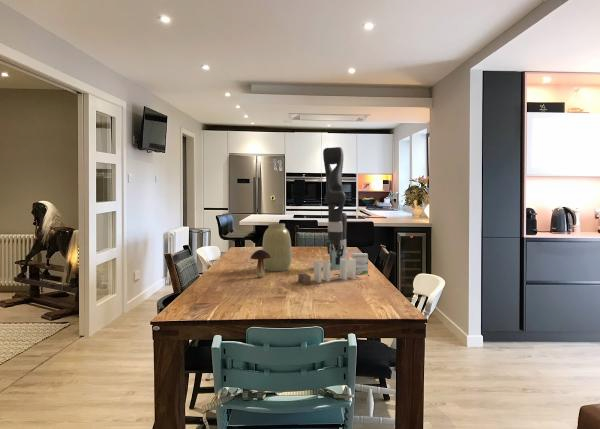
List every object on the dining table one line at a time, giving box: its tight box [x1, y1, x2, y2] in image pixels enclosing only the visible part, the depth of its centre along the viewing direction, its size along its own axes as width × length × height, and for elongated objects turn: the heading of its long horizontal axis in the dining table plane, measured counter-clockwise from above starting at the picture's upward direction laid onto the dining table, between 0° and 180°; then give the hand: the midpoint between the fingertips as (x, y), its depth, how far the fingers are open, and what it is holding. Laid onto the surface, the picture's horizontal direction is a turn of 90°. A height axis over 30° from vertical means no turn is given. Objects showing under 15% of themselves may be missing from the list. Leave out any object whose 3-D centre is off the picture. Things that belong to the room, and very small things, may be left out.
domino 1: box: [313, 260, 322, 282], centre depth 224 cm, size 5×2×10 cm, turn 25°
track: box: [293, 272, 363, 286], centre depth 227 cm, size 10×35×5 cm, turn 115°
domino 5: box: [347, 257, 357, 279], centre depth 232 cm, size 5×2×10 cm, turn 25°
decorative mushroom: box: [250, 249, 271, 279], centre depth 238 cm, size 11×11×15 cm
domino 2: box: [322, 259, 331, 282], centre depth 226 cm, size 5×2×10 cm, turn 25°
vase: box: [261, 222, 292, 272], centre depth 262 cm, size 17×17×27 cm
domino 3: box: [330, 250, 340, 271], centre depth 228 cm, size 5×2×10 cm, turn 25°
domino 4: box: [339, 259, 348, 280], centre depth 230 cm, size 5×2×10 cm, turn 25°
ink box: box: [351, 252, 369, 275], centre depth 247 cm, size 9×5×12 cm, turn 84°
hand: (335, 263), depth 228 cm, fingers closed on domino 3, 5 cm apart
